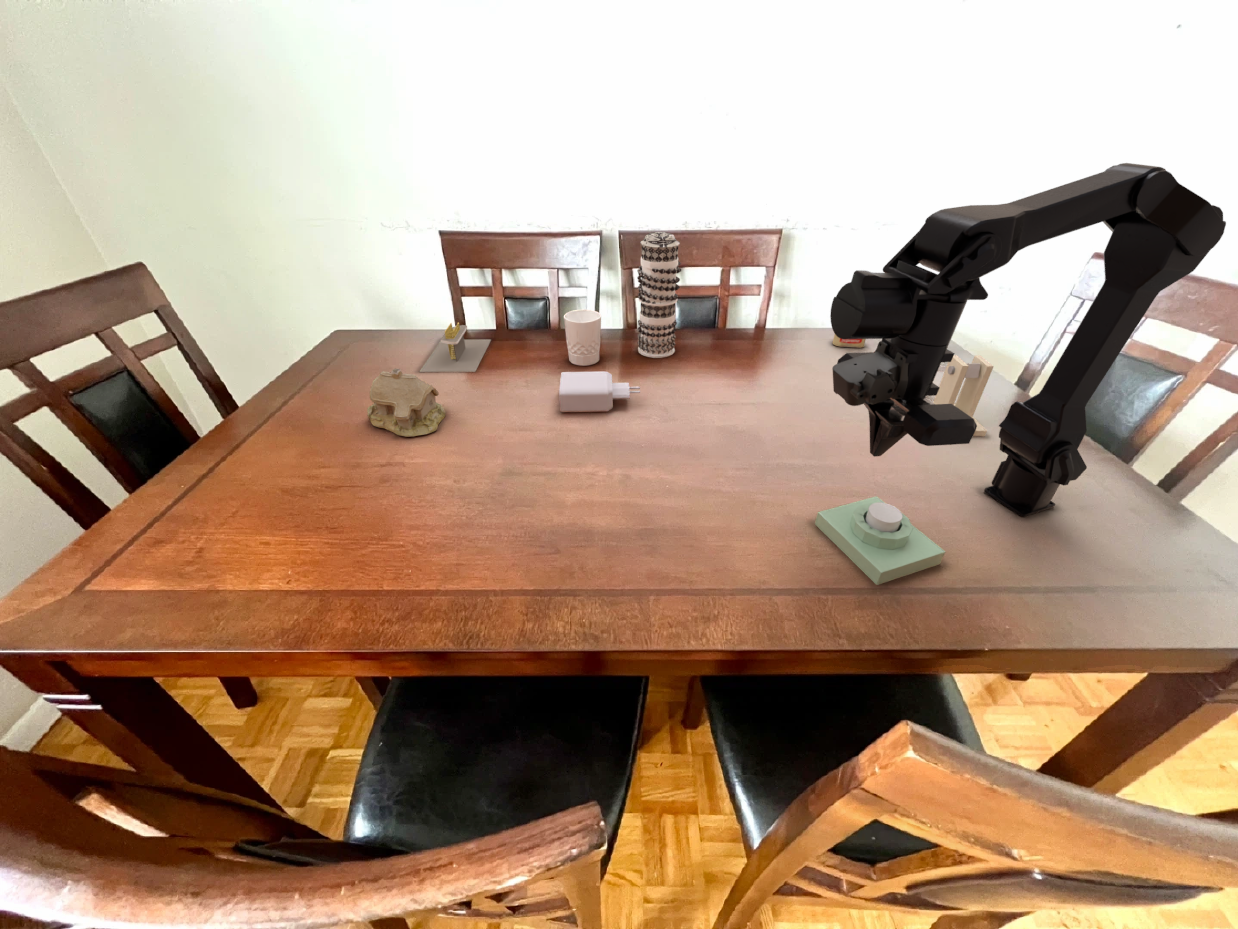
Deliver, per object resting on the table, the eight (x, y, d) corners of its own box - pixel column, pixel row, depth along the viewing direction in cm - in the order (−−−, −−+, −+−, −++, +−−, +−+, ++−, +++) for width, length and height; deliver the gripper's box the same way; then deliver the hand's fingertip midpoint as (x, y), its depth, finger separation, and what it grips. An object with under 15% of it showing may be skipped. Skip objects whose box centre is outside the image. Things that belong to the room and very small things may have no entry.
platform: (419, 371, 116) (412, 342, 112) (441, 339, 131) (436, 312, 127) (475, 371, 116) (470, 342, 112) (491, 339, 131) (487, 312, 127)
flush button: (905, 528, 69) (910, 518, 68) (880, 536, 68) (884, 525, 67) (883, 509, 72) (886, 499, 71) (858, 516, 71) (861, 506, 70)
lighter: (833, 346, 126) (843, 304, 120) (830, 340, 129) (840, 298, 123) (865, 348, 125) (877, 305, 119) (862, 342, 128) (873, 300, 122)
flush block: (940, 564, 69) (951, 540, 66) (876, 585, 66) (885, 561, 63) (872, 507, 78) (880, 485, 76) (814, 524, 75) (820, 501, 73)
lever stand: (913, 407, 102) (934, 348, 95) (957, 408, 102) (981, 348, 95) (937, 435, 94) (961, 373, 87) (984, 436, 93) (1012, 373, 87)
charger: (641, 413, 101) (560, 414, 100) (638, 390, 108) (562, 391, 108) (642, 390, 98) (558, 391, 98) (638, 368, 106) (561, 369, 105)
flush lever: (914, 375, 107) (916, 359, 106) (931, 376, 107) (933, 359, 106) (961, 380, 91) (964, 360, 90) (981, 380, 91) (984, 360, 90)
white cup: (561, 356, 122) (558, 312, 116) (593, 350, 125) (592, 307, 119) (574, 369, 116) (571, 324, 111) (607, 363, 119) (607, 318, 113)
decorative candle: (683, 347, 126) (691, 232, 112) (664, 361, 119) (669, 241, 105) (649, 339, 130) (652, 227, 116) (628, 353, 123) (629, 236, 109)
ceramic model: (458, 410, 102) (448, 360, 96) (425, 441, 93) (412, 388, 87) (392, 401, 105) (379, 352, 99) (355, 430, 96) (338, 378, 90)
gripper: (814, 308, 66) (784, 421, 75) (909, 374, 51) (858, 505, 60) (895, 308, 68) (856, 417, 77) (1009, 371, 53) (945, 498, 62)
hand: (875, 454), depth 69 cm, fingers closed
